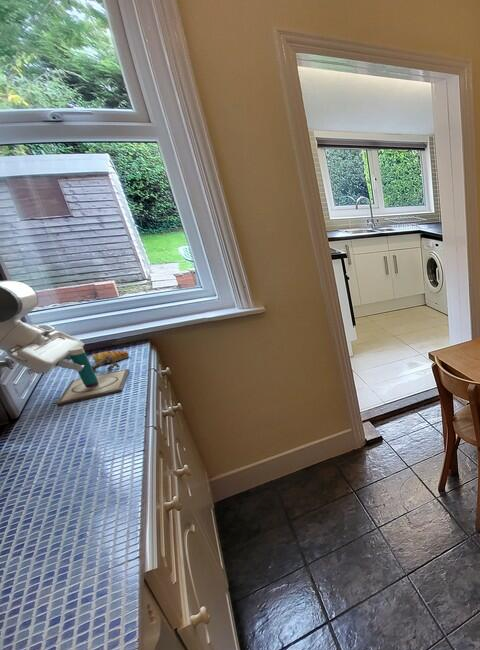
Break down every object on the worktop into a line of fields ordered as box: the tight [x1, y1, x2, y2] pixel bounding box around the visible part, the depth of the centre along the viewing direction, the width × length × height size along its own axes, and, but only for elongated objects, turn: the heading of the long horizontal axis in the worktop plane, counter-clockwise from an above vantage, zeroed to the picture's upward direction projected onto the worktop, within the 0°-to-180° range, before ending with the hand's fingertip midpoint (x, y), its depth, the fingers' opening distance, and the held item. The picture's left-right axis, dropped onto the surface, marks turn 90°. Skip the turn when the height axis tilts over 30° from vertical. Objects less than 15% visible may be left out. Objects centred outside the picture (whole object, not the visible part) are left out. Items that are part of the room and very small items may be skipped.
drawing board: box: [56, 368, 130, 407], centre depth 128 cm, size 14×20×1 cm
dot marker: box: [68, 346, 99, 387], centre depth 123 cm, size 3×3×12 cm
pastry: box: [92, 350, 130, 366], centre depth 147 cm, size 9×7×4 cm
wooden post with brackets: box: [92, 356, 120, 372], centre depth 140 cm, size 2×8×4 cm, turn 107°
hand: (86, 366), depth 123 cm, fingers closed on dot marker, 3 cm apart
